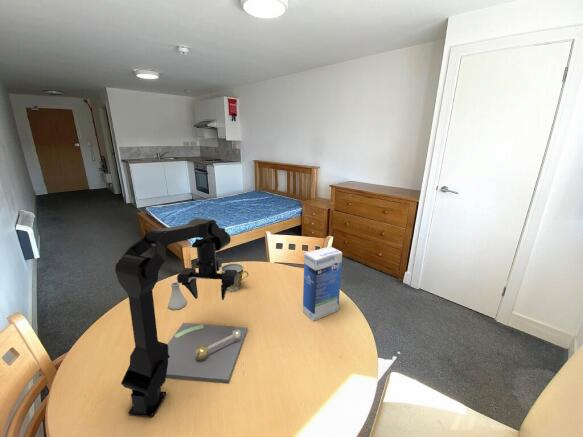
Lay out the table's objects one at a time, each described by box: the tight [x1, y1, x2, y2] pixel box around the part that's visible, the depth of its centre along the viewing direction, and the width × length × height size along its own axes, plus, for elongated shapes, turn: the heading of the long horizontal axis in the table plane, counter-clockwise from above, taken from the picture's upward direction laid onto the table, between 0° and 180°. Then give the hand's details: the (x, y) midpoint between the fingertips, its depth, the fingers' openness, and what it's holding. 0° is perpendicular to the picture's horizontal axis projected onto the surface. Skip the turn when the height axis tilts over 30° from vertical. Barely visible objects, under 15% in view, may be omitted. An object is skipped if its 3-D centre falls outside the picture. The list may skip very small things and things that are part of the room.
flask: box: [167, 281, 188, 311], centre depth 108 cm, size 7×7×10 cm
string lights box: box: [302, 246, 343, 322], centre depth 103 cm, size 13×8×26 cm, turn 122°
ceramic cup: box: [220, 262, 249, 292], centre depth 122 cm, size 13×10×10 cm
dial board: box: [166, 322, 249, 384], centre depth 85 cm, size 22×24×1 cm
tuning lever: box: [195, 329, 241, 361], centre depth 84 cm, size 15×4×3 cm, turn 130°
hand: (209, 298), depth 90 cm, fingers open, 9 cm apart
